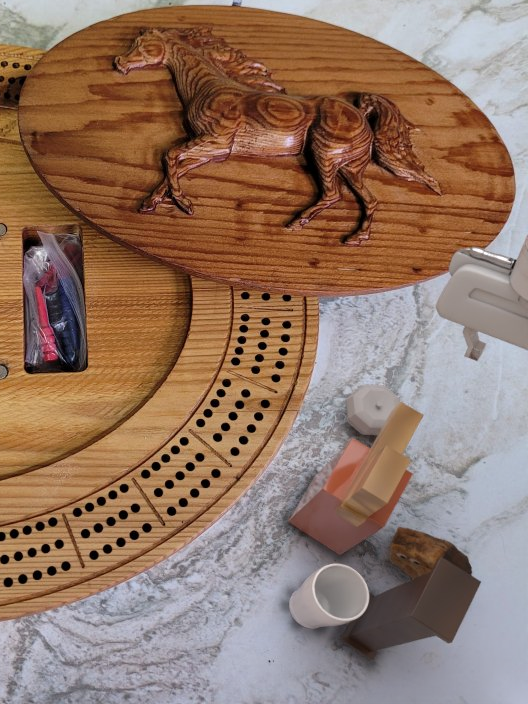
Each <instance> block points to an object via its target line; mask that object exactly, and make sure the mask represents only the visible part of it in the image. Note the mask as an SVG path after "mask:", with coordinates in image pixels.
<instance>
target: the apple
mask: <svg viewBox="0 0 528 704" xmlns="http://www.w3.org/2000/svg"><path fill="white" fill-rule="evenodd" d="M400 402H401V398H400V397H399V396H398V395H397V394H395V393H394V392H393V391H392V390H391V389H389V388H388V387H387V386H386V385H383V384H382V385H381V384H363V385H360V386H358V387H357V388H356V389H355V390H354V391H353V392H352V393H351V394H350V395H349V396H348V397H346V402H345V410H346V419H347V424H349V426H351V427H352V428H354V429H355V430H356V431H357V432H358V433H359V434H360V435H362V436H378V434H379V433H380V431H381V429H382V427H383V426H384V424H385V422H386V420H387V419H388V417H389V415H390V413H391V412H392V410H393V409H394V408H395V407H396V406H397V405H398V404H399V403H400Z"/></svg>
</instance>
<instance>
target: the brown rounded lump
mask: <svg viewBox="0 0 528 704" xmlns="http://www.w3.org/2000/svg"><path fill="white" fill-rule="evenodd" d="M389 556H390V557H389V562H390V563H392V564H393V565H395V566H396V567H398V568H399V569H400V570H401V571H402V572H404V573H405V574H406V575H407V576H409V577H410V578H412V579H415V578H417V577H419V576H422V575H424V574H426V573H429V572H431V570H432V568H433V566H434V564H435V562H436V560H437V558H439V557H442V558H444V559H446V560H447V561H449V562H450V563H452V564H454V565H455V566H457V567H458V568H460V569H462V570H463V571H465V572H467V573H468V574H470V575H471V576H473V575H472V574H473V568H472V565H471V563H470V560H469V557H468V556H467V555H466V554H465V553H464V552H462V551H460V550H459V549H458V548H457V546H456V545H455V544H454V543H452V542H451V541H448V540H447V539H443V538H439V537H436V536H434V535H431V534H429V533H427V532H424V531H420V530H416V529H412V528H408V527H402V526H398V527H397V528H396V532H395V533H394V536H393V539H392V540H391V542H390V545H389Z"/></svg>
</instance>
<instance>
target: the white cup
mask: <svg viewBox="0 0 528 704" xmlns="http://www.w3.org/2000/svg"><path fill="white" fill-rule="evenodd" d="M369 590H370V589H369V586H368V584H367V582H366V580H365V579H364V577H363V576H362V575H361V574H360V573H359V572H358V571H357V570H356V569H355V568H353V567H351V566H349V565H347V564H344V563H329V564H326V565H324V566H321V567H319V568H318V569H316V570H314V571H313V572H312V573H310V575H309V576H308V577H307V578H306V579H305V580H304V582H303V583H302V584H301V585H300V586H299V587H298V588H297V589H296V590H294V592H293V593H292V594H291V596H290V598H289V603H288V604H289V605H288V606H289V612H290V614H291V616H292V618H293V620H294V621H295V622H296V623H297V624H299V625H300V626H302V627H304V628H307V629H311V630H312V629H319V628H322V627H323V628H324V627H338V626H342V625H346V624H347V623H349V622H351V621H353V620H355V619H357V618H359V617H360V616H361V615H362V614H363V613H364V612H365V611H366V609H367V607H368V604H369V592H370V591H369Z"/></svg>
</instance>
